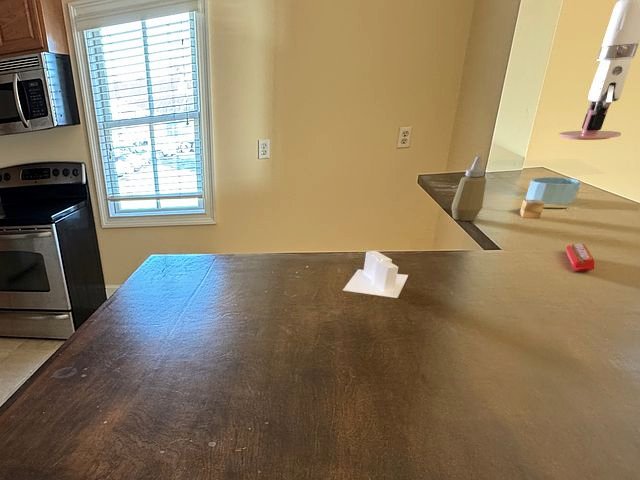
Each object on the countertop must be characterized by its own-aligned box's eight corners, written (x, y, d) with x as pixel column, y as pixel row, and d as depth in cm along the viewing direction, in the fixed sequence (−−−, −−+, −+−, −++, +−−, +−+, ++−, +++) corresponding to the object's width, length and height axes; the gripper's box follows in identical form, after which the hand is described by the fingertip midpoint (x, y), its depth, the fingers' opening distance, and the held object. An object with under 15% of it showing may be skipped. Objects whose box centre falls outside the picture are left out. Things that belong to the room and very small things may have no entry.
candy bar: (562, 252, 117) (567, 240, 115) (581, 253, 115) (586, 241, 113) (572, 273, 105) (577, 260, 103) (593, 275, 103) (599, 262, 102)
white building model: (357, 269, 116) (360, 246, 113) (408, 274, 111) (413, 250, 108) (342, 290, 105) (345, 265, 102) (398, 298, 100) (403, 272, 97)
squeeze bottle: (443, 216, 151) (457, 155, 142) (470, 215, 151) (485, 153, 142) (456, 223, 144) (472, 159, 135) (484, 221, 144) (501, 157, 135)
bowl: (566, 201, 158) (574, 177, 154) (577, 209, 148) (587, 184, 144) (520, 200, 162) (527, 177, 158) (528, 208, 152) (536, 184, 149)
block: (536, 214, 146) (541, 199, 144) (539, 218, 143) (544, 203, 141) (519, 214, 148) (523, 199, 146) (522, 217, 144) (526, 202, 142)
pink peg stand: (610, 134, 140) (620, 106, 136) (627, 139, 129) (638, 110, 126) (552, 135, 145) (560, 109, 142) (564, 141, 135) (573, 112, 131)
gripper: (647, 51, 119) (617, 132, 128) (623, 53, 132) (598, 126, 141) (609, 54, 122) (582, 133, 131) (589, 55, 135) (567, 127, 144)
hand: (591, 128), depth 136 cm, fingers closed on pink peg stand, 3 cm apart
